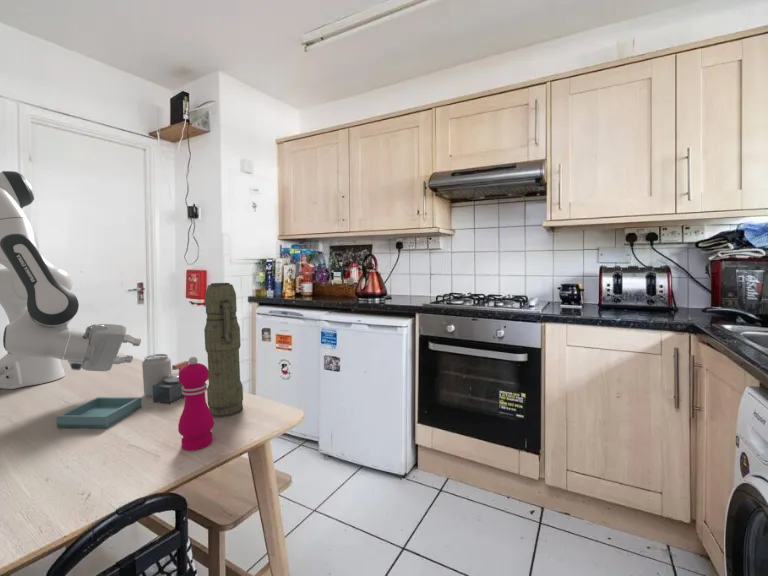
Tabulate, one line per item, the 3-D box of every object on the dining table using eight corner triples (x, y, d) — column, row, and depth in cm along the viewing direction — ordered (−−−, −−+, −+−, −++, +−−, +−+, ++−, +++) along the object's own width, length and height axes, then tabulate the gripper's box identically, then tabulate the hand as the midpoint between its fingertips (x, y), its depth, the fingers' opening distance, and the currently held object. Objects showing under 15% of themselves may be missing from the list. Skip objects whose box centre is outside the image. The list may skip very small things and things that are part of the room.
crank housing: (152, 402, 108) (149, 368, 107) (184, 388, 119) (182, 357, 118) (171, 404, 106) (169, 369, 105) (202, 389, 117) (200, 358, 117)
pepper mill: (191, 455, 79) (186, 363, 77) (172, 446, 82) (167, 358, 81) (221, 441, 85) (217, 355, 83) (203, 433, 88) (198, 351, 87)
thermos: (233, 400, 109) (228, 281, 106) (251, 412, 100) (245, 283, 97) (201, 409, 103) (194, 283, 100) (217, 422, 94) (210, 285, 91)
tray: (57, 428, 92) (56, 416, 92) (98, 407, 104) (97, 397, 104) (106, 428, 91) (105, 416, 91) (141, 407, 104) (141, 397, 104)
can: (159, 399, 110) (156, 359, 109) (138, 397, 112) (135, 358, 111) (178, 390, 117) (175, 353, 116) (157, 388, 119) (155, 352, 118)
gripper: (89, 315, 104) (146, 323, 112) (76, 355, 114) (129, 360, 122) (85, 333, 100) (144, 340, 109) (71, 373, 110) (126, 376, 119)
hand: (136, 351), depth 116 cm, fingers open, 8 cm apart
